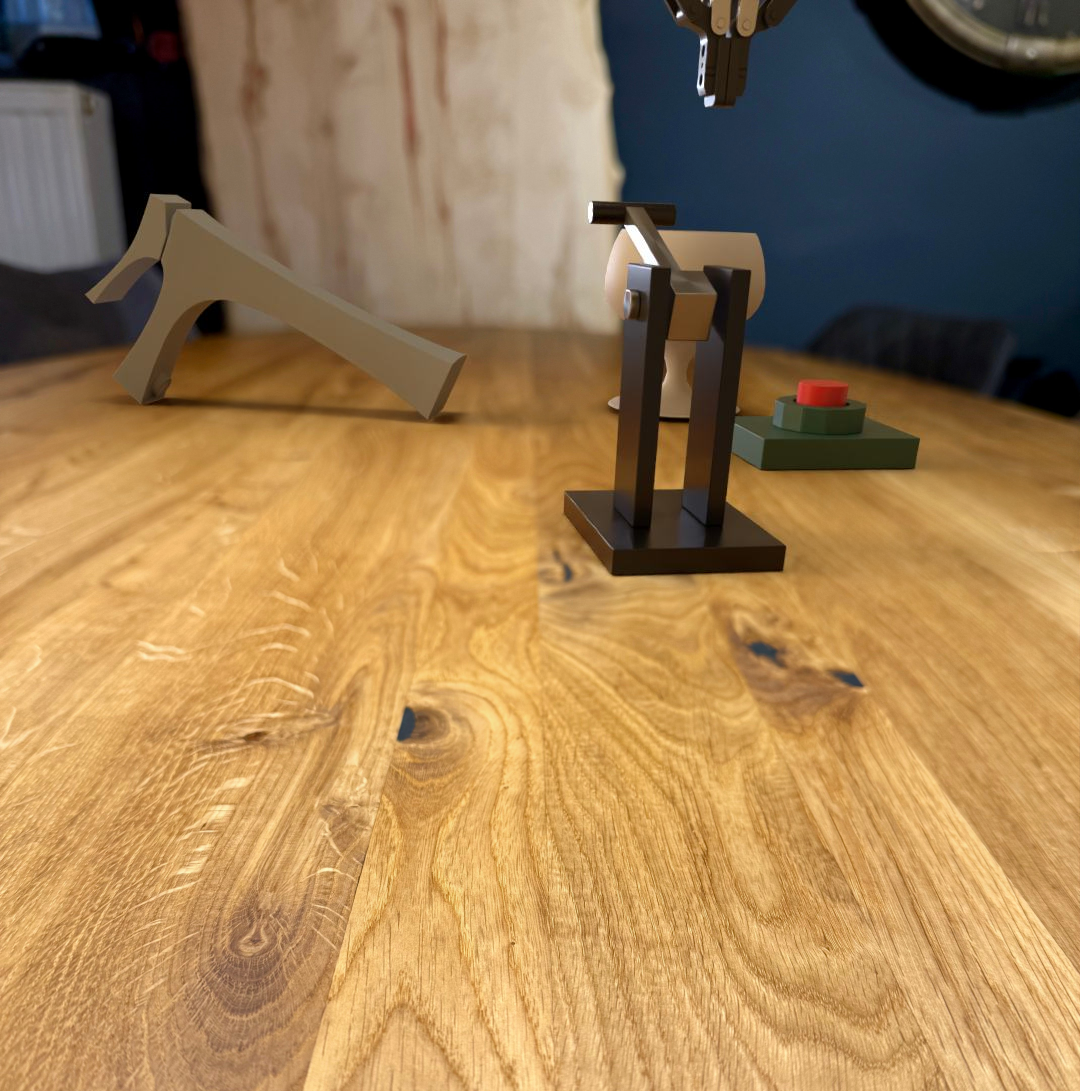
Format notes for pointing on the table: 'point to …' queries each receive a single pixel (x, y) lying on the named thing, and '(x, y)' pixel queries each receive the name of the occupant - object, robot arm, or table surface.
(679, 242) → the chalice
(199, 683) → the table surface
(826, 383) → the button
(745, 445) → the button box
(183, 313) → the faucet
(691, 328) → the lever
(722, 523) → the bracket
